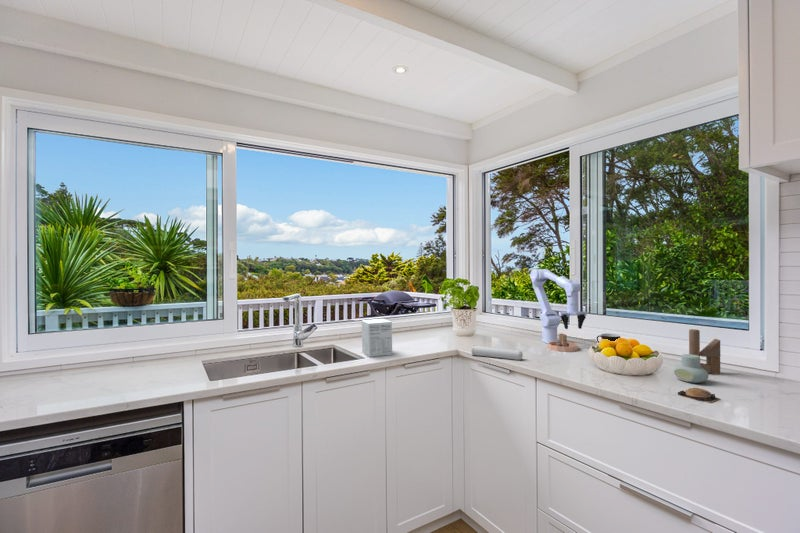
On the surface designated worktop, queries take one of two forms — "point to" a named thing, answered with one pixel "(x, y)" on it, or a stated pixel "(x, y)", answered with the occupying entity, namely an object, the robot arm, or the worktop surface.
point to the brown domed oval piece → (699, 395)
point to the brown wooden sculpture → (705, 352)
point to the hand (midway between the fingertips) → (573, 328)
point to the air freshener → (691, 369)
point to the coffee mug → (609, 337)
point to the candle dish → (557, 347)
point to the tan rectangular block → (563, 340)
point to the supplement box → (376, 337)
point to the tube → (497, 353)
